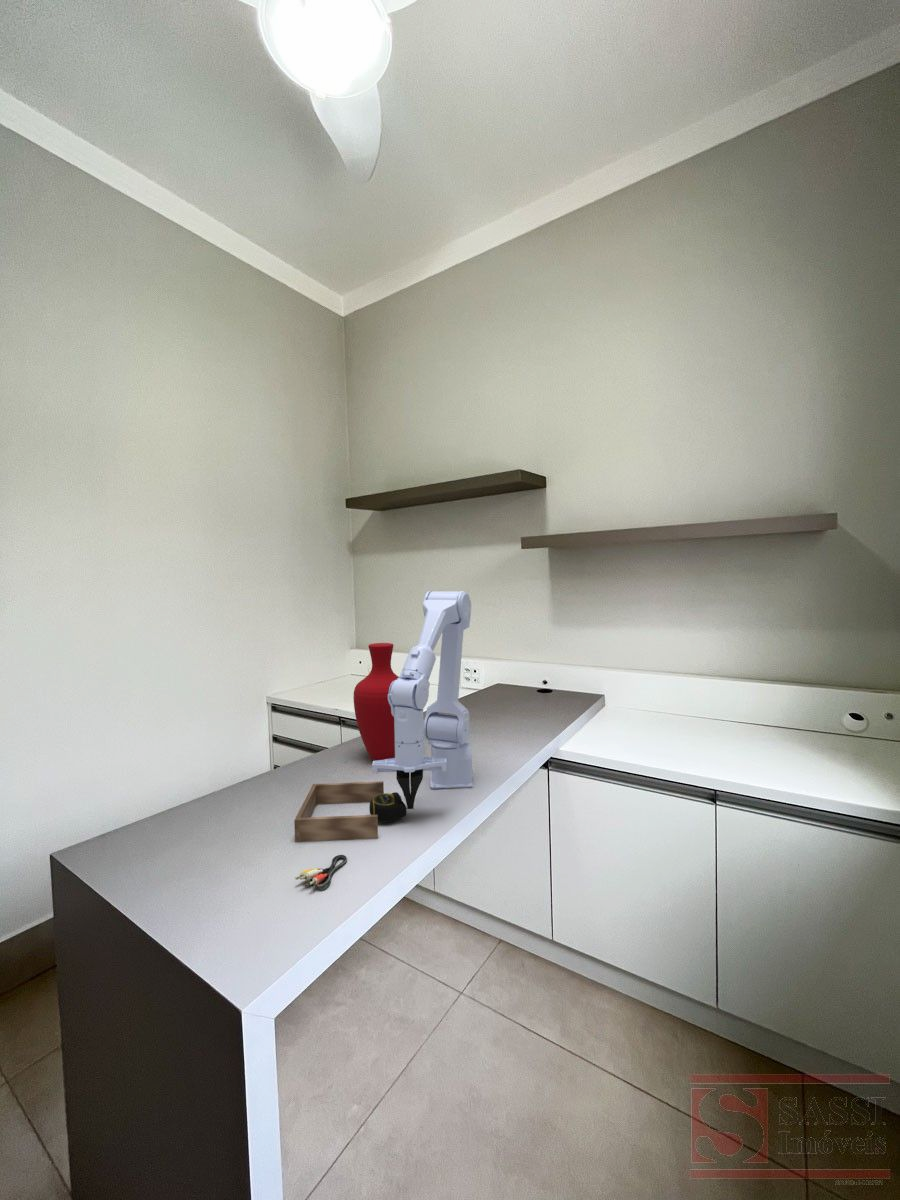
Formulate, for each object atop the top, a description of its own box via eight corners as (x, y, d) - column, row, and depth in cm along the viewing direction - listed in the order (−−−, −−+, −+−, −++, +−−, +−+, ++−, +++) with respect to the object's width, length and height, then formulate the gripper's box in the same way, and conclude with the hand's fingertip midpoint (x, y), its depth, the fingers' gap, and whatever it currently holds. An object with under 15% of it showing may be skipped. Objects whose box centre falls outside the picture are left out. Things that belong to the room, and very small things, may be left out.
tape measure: (407, 822, 96) (407, 803, 96) (372, 828, 94) (372, 809, 94) (400, 807, 103) (400, 789, 102) (367, 812, 101) (367, 794, 100)
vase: (422, 757, 131) (420, 643, 129) (376, 772, 121) (373, 650, 119) (389, 743, 142) (387, 639, 140) (344, 757, 131) (341, 644, 130)
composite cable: (339, 858, 85) (339, 843, 85) (360, 866, 82) (360, 851, 82) (293, 888, 77) (293, 873, 76) (315, 899, 74) (314, 883, 74)
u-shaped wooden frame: (383, 799, 106) (383, 781, 106) (377, 838, 91) (377, 816, 90) (313, 802, 105) (313, 784, 105) (295, 841, 90) (294, 820, 89)
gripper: (370, 747, 93) (371, 818, 94) (447, 744, 94) (448, 814, 95) (373, 735, 100) (374, 801, 101) (445, 733, 101) (446, 798, 102)
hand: (410, 806), depth 99 cm, fingers closed
